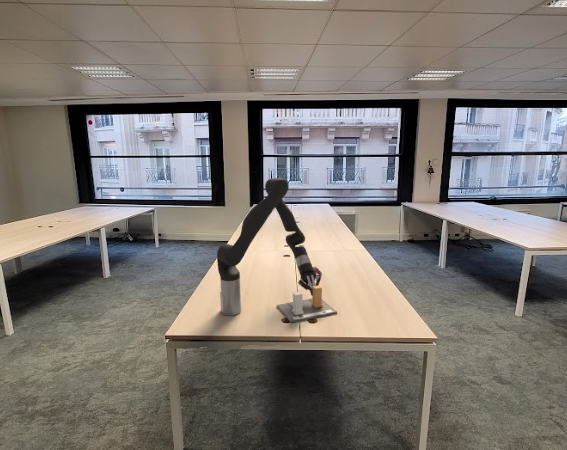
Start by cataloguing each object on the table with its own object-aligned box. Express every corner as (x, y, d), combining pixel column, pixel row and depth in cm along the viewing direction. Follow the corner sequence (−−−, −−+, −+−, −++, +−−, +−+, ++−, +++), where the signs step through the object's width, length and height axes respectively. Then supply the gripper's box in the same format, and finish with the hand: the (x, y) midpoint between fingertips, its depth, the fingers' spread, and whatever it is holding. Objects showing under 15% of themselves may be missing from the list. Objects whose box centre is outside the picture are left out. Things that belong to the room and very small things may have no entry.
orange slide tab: (315, 308, 159) (315, 289, 157) (311, 304, 163) (311, 286, 161) (322, 306, 161) (323, 288, 159) (318, 302, 165) (318, 284, 163)
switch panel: (291, 323, 147) (291, 320, 147) (276, 306, 164) (276, 304, 163) (337, 313, 156) (337, 311, 156) (319, 298, 173) (319, 296, 172)
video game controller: (317, 276, 210) (313, 266, 210) (322, 274, 207) (318, 264, 207) (308, 280, 202) (304, 270, 203) (314, 279, 199) (310, 268, 200)
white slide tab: (295, 315, 152) (295, 295, 150) (291, 311, 156) (291, 292, 154) (303, 313, 154) (303, 294, 152) (299, 309, 157) (299, 290, 156)
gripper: (295, 263, 166) (305, 295, 158) (318, 260, 171) (329, 291, 163) (290, 270, 172) (300, 301, 164) (313, 267, 177) (323, 297, 168)
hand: (315, 296), depth 163 cm, fingers closed
